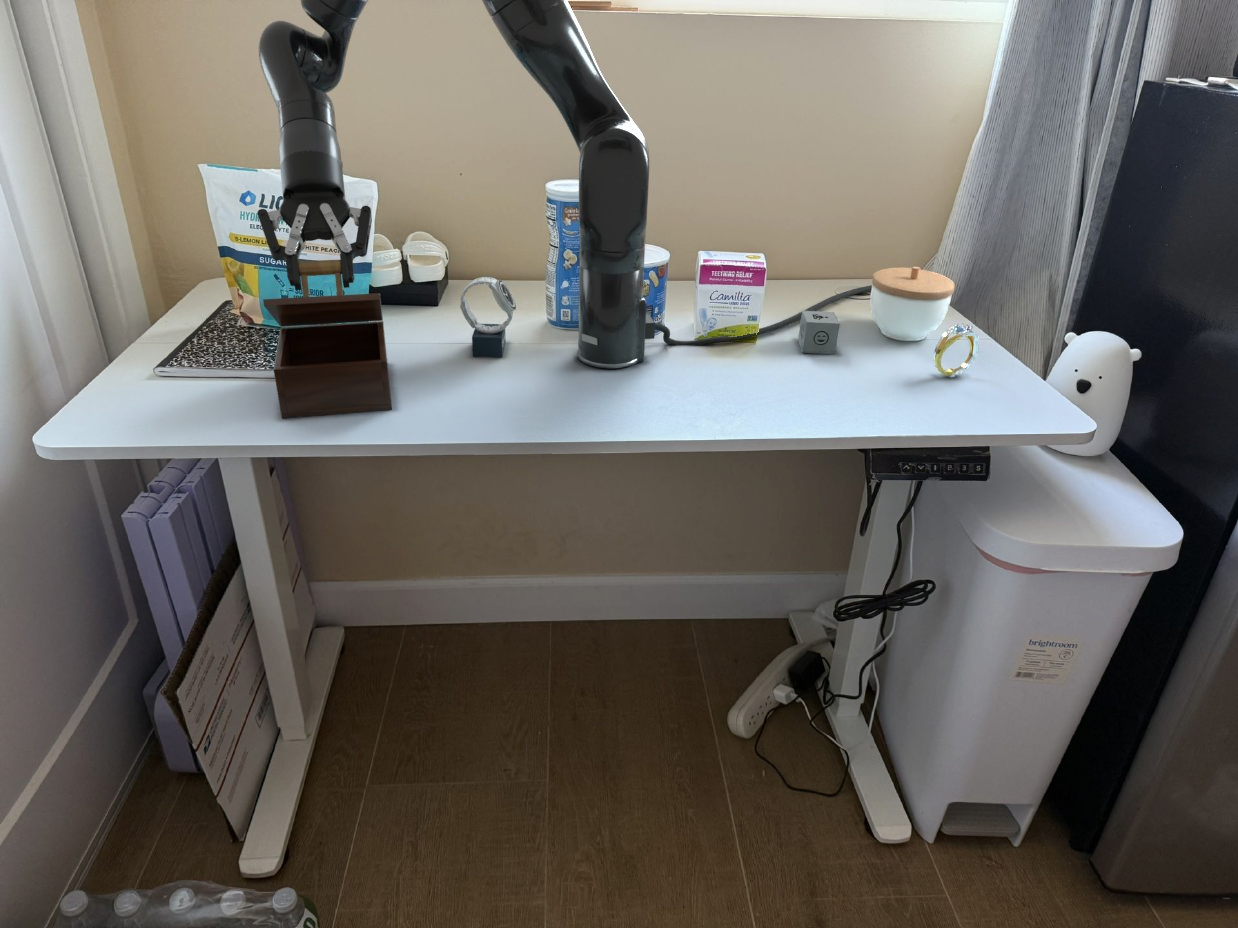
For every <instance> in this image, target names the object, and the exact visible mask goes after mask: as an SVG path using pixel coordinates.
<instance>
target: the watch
mask: <svg viewBox="0 0 1238 928" xmlns="http://www.w3.org/2000/svg"><path fill="white" fill-rule="evenodd" d="M478 285H488V288H489V289H490V290H491V293H492V295H493V298H494V300H495V302H496V303H497V305H498V307H500V308H499V309H501V310H502V311H503V312H504V313H506V314H507V319H506V320H504V322H502V323H480V322H479V321H478V318H477V317H476V315H474V313H473V311H472V310H471V308H470V306H469V303H468V302H467V297H466V294H467V292H468V291H469V290H470V289H471V288H473V287H474V286H478ZM459 308H460V310H461V313H462V315H463V317H464V319H465V320H466V322H467V323H468V325H469V326H470V327H471V328H472V329H473V333H472V336H471V347H472V348H471V349H472V357H473V358H503V356H504V351H505V348H506V345H507V343H506V340H507V339H506V329H507V327H508V326H509V325H510V324H511V322H512V319H513V315H514V311H516V309H517V305H516V301H515V298H514V297H513V294H512V293H511V290H510V289H509V288H508V286H507V284H506V283H505V282H503V280H501V279H496V278H495V277H491V276H481V277H477V278H475V279H472V280H470V281H469V283H467V284H466V285H465V287H464V289H463V291H462V294H461V297H460V305H459Z"/></svg>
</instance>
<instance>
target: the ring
mask: <svg viewBox="0 0 1238 928" xmlns="http://www.w3.org/2000/svg"><path fill="white" fill-rule="evenodd" d="M973 329H974V326H973V325H969V324H965V323H961V325H960V323H959V322H956V324H955V325H952V326H950V327H949V328H948V329H946V330H945V332H944V333H943V334H942V335H941V336H940V338H939V340H938V341H937V344H936V346H935V348H934V351H933V354H932V355H933V356H932V359H933V364H934V367H935V369H936V370H937V371H938V372H939V373H940V374H942V375H943V376H947V377H949V378H955V377H956V376H959V375H960V374H963V373H964V372H966V371H967V370H968V369H969V368H970V367H971V366H972V365H973V364H974V362H975V361H976V359H977V357H978V355H979V351H980V338H979V335H978V334H977V333H975V332H973V331H972V330H973ZM951 335H953V336H951ZM950 336H951V337H950ZM949 337H950V338H949ZM963 337H965V338H966V339H967V340H968V344H969V353H968V356H967V358H966V360H965V361H964V362H963V363H962V364H961V365H960V366H959V367H957V368H950V367H949V368H947V369H944V367H943V366H942V358H943V355H944V353H945V352H946V351H947V349H948V348H949V347H951V346H952V345H953V344H955V342H957V341H959V340H960V339H961V338H963ZM948 338H949V339H948Z"/></svg>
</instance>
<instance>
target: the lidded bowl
mask: <svg viewBox="0 0 1238 928" xmlns="http://www.w3.org/2000/svg"><path fill="white" fill-rule="evenodd" d="M871 285H872V290H871V291H870V298H869V299H870V301H869V303H870V312H871V317H872V318H873V321H874V322H875V324H876V326H877V327H878V328H879V329H880V333H881V334H882V335H883V336H885V337H887V338H889V339H893V340H895V341H896V340H897V341H900V342H901V341H903V342H919V341H922V340H925V338H926V337H927V336H928V335H930V334H931V333H932V332H934V331H935V330H936V329H938V328H939V326H940V325H941V324H942V322H943V321H944V319H945V318H946V315H947V313H948V311H949V308H950V305H951V301H952V295H953V294H954V292H955V287H956V284H955V282H954V281H953V280H952V279H950V278H949V277H947V276H945V275H943V274H940V273H939V272H938V273H937V272H934V271H930V270H926V269H921V267H919V266H912V267H888V268H883V269H880V270H877V271H876V272H874V273H873V275H872V278H871Z"/></svg>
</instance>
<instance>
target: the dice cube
mask: <svg viewBox="0 0 1238 928" xmlns="http://www.w3.org/2000/svg"><path fill="white" fill-rule="evenodd" d="M801 312H802V316H801V319H800V324H799V331H798V338H797V342H798V344H799V347H800V350H801V353H802V354H824V355H835V354H836V350H837V344H838V338H839V333H840V326H841V323H840V320H839V318H838V317H837V315H836V313H835V311H819V310H816V311H804V310H802V311H801Z"/></svg>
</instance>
